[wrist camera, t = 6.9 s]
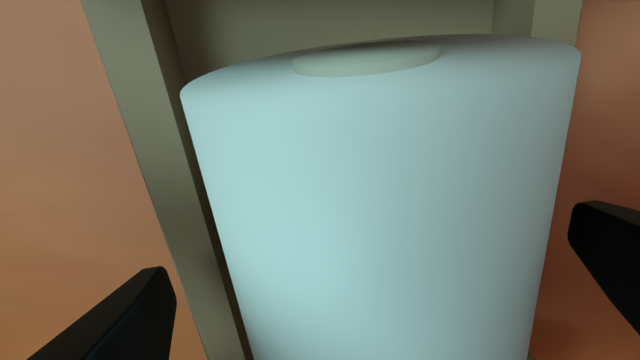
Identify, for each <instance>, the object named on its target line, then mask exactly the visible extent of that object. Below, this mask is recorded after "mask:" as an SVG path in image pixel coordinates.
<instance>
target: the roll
mask: <svg viewBox="0 0 640 360" xmlns="http://www.w3.org/2000/svg"><path fill="white" fill-rule="evenodd" d="M580 61H581V53H580V51H579V50H578V49H576V48H575V47H573V46H571V45H569V44H566V43H563V42H559V41H555V40H551V39H545V38H538V37H529V36H518V35H500V34H448V35H425V36H409V37H396V38H385V39H375V40H365V41H356V42H348V43H341V44H333V45H326V46H320V47H313V48H307V49H301V50H296V51H290V52H285V53H280V54H275V55H271V56H266V57H261V58H257V59H253V60H249V61H245V62H242V63H238V64H234V65H231V66H228V67H225V68H221V69H218V70H216V71H213V72H210V73H208V74H205V75H203V76H201V77H199V78H197V79H195V80H193V81H191V82H190V83H188V84H187V85H186V86H184V87H183V89H182V90H181V91H180V99H181V102H182V106H183V109H184V113H185V117H186V120H187V124H188V127H189V131H190V134H191V138H192V141H193V145H194V149H195V152H196V156H197V159H198V163H199V166H200V170H201V173H202V177H203V181H204V184H205V188H206V191H207V195H208V198H209V202H210V205H211V209H212V212H213V216H214V220H215V223H216V227H217V230H218V234H219V237H220V241H221V244H222V248H223V252H224V255H225V259H226V262H227V266H228V269H229V273H230V276H231V280H232V284H233V287H234V291H235V294H236V298H237V301H238V305H239V308H240V312H241V316H242V319H243V323H244V326H245V330H246V333H247V337H248V340H249V344H250V348H251V351H252V355H253V358H254V360H527V355H528V349H529V344H530V338H531V333H532V327H533V322H534V316H535V311H536V305H537V300H538V294H539V289H540V283H541V277H542V272H543V266H544V261H545V255H546V250H547V244H548V239H549V233H550V228H551V222H552V216H553V211H554V205H555V200H556V194H557V189H558V183H559V178H560V172H561V167H562V161H563V155H564V150H565V144H566V139H567V133H568V128H569V122H570V117H571V111H572V106H573V100H574V95H575V89H576V83H577V78H578V72H579V67H580Z"/></svg>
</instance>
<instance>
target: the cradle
mask: <svg viewBox="0 0 640 360" xmlns="http://www.w3.org/2000/svg"><path fill="white" fill-rule="evenodd" d="M81 3H82V6H83V9H84V12H85V14H86V17H87V20H88V23H89V26H90V29H91V31H92V34H93V37H94V40H95V43H96V45H97V48H98V51H99V54H100V57H101V60H102V62H103V65H104V68H105V71H106V74H107V76H108V79H109V82H110V85H111V88H112V91H113V93H114V96H115V99H116V102H117V105H118V107H119V110H120V113H121V116H122V119H123V121H124V124H125V127H126V130H127V133H128V136H129V138H130V141H131V144H132V147H133V150H134V152H135V155H136V158H137V161H138V164H139V167H140V169H141V172H142V175H143V178H144V181H145V183H146V186H147V189H148V192H149V195H150V198H151V200H152V203H153V206H154V209H155V212H156V214H157V217H158V220H159V223H160V226H161V229H162V231H163V234H164V237H165V240H166V243H167V245H168V248H169V251H170V254H171V257H172V260H173V262H174V265H175V268H176V271H177V274H178V276H179V279H180V282H181V285H182V288H183V291H184V293H185V296H186V299H187V302H188V305H189V307H190V310H191V313H192V316H193V319H194V322H195V324H196V327H197V330H198V333H199V336H200V338H201V341H202V344H203V347H204V350H205V352H206V355H207V358H208V360H254V358H253V355H252V351H251V348H250V344H249V340H248V337H247V333H246V330H245V326H244V323H243V319H242V316H241V312H240V308H239V305H238V301H237V298H236V294H235V291H234V287H233V284H232V280H231V276H230V273H229V269H228V266H227V262H226V259H225V255H224V252H223V248H222V244H221V241H220V237H219V234H218V230H217V227H216V223H215V220H214V216H213V212H212V209H211V205H210V202H209V198H208V195H207V191H206V188H205V184H204V181H203V177H202V173H201V170H200V166H199V163H198V159H197V156H196V152H195V149H194V145H193V141H192V138H191V134H190V131H189V127H188V124H187V120H186V117H185V113H184V109H183V106H182V102H181V99H180V91H181V90H182V89H183V87H184V86H186V85H187V84H188V83H190V82H191V81H193V80H195V79H197V78H199V77H201V76H203V75H205V74H208V73H210V72H213V71H216V70H218V69H221V68H225V67H228V66H231V65H234V64H238V63H242V62H245V61H249V60H253V59H257V58H261V57H266V56H271V55H275V54H280V53H285V52H290V51H296V50H301V49H307V48H313V47H320V46H326V45H333V44H341V43H348V42H356V41H365V40H375V39H385V38H396V37H409V36H425V35H448V34H500V35H518V36H529V37H538V38H545V39H551V40H555V41H559V42H563V43H566V44H569V45H571V46H573V47H575V43H576V37H577V32H578V26H579V20H580V14H581V9H582V3H583V0H81ZM527 360H534V358H533V357H532V355H531V354H530V353H529V351H528V355H527Z"/></svg>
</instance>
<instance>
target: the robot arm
mask: <svg viewBox="0 0 640 360" xmlns="http://www.w3.org/2000/svg"><path fill="white" fill-rule="evenodd" d="M567 236H568V241H569V244H570V246H571V247H572V248H573V250H574V251H575V253H576V254H577V255H578V257H579V258H580V260H581V261H582V262H583V264H584V265H585V266H586V268H587V269H588V271H589V272H590V273H591V275H592V276H593V278H594V279H595V280H596V282H597V283H598V285H599V286H600V287H601V289H602V290H603V291H604V293H605V294H606V296H607V297H608V298H609V299H610V301H611V302H612V303H613V305H614V306H615V307H616V308H617V309H618V311H619V312H620V313H621V314H622V315H623V316H624V318H625V319H626V320H627V321H628V322H629V323H630V325H631V326H632V327H633V328H634V329H635V330H636V331H637V333H638V334H639V335H640V211H638V210H634V209H630V208H626V207H622V206H618V205H614V204H610V203H606V202H602V201H597V200H593V201H586V202H580V203H577V204H576V205H575V206H574V207H573V210H572V214H571V219H570V224H569V229H568V234H567ZM176 306H177V301H176V295H175V292H174V290H173V287H172V284H171V281H170V279H169V276H168V273H167V271H166V269H165V268H164V267H162V266H158V267H151V268H145V269H142V270H141V271H140V272H138V273H137V274H136V275H134V276H133V277H132V278H131V279H129V280H128V281H127V282H125V283H124V284H123V285H122V286H120V287H119V288H118V289H116V290H115V291H114V292H113V293H111V294H110V295H109V296H107V297H106V298H105V299H104V300H102V301H101V302H100V303H98V304H97V305H96V306H95V307H93V308H92V309H91V310H90V311H88V312H87V313H86V314H84V315H83V316H82V317H81V318H79V319H78V320H77V321H75V322H74V323H73V324H72V325H70V326H69V327H68V328H66V329H65V330H64V331H63V332H61V333H60V334H59V335H57V336H56V337H55V338H54V339H52V340H51V341H50V342H48V343H47V344H46V345H45V346H43V347H42V348H41V349H39V350H38V351H37V352H36V353H34V354H33V355H32V356H30V357H29V358H28V359H27V360H169V354H170V347H171V340H172V333H173V327H174V320H175V313H176Z"/></svg>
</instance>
